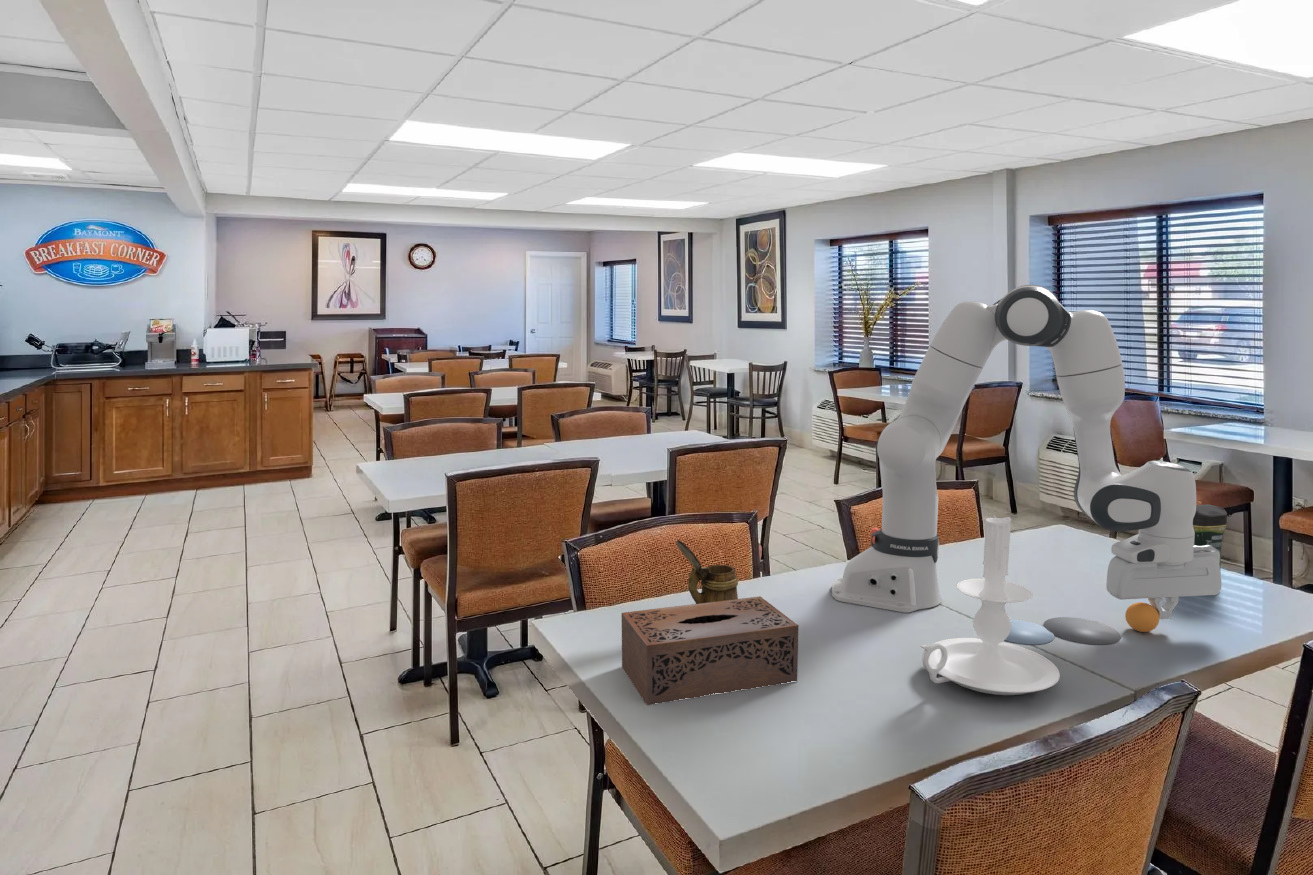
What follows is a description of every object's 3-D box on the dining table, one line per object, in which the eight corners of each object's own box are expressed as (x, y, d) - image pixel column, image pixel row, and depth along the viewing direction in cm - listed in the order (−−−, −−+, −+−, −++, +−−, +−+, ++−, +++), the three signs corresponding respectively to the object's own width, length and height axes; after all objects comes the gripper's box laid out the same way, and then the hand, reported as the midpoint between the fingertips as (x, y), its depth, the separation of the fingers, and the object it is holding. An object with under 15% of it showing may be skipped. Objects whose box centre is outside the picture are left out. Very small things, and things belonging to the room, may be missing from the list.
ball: (1141, 642, 151) (1122, 622, 150) (1134, 624, 156) (1116, 605, 155) (1169, 628, 148) (1149, 608, 148) (1161, 611, 153) (1142, 591, 152)
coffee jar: (1192, 595, 171) (1201, 510, 168) (1160, 583, 179) (1168, 502, 176) (1227, 591, 174) (1236, 507, 171) (1194, 580, 181) (1202, 499, 178)
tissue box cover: (646, 707, 124) (646, 645, 122) (622, 668, 137) (621, 612, 136) (797, 683, 131) (798, 625, 130) (759, 649, 145) (760, 596, 143)
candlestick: (876, 671, 135) (883, 509, 131) (986, 647, 145) (995, 495, 141) (969, 728, 116) (980, 541, 112) (1088, 695, 126) (1102, 522, 122)
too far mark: (987, 639, 148) (987, 638, 148) (982, 616, 159) (982, 616, 159) (1059, 648, 144) (1059, 647, 144) (1049, 623, 155) (1049, 623, 155)
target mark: (1048, 639, 148) (1048, 638, 148) (1039, 615, 160) (1039, 614, 160) (1128, 648, 144) (1128, 647, 144) (1112, 622, 156) (1112, 621, 156)
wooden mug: (667, 623, 157) (667, 533, 154) (729, 613, 162) (730, 526, 159) (686, 639, 148) (686, 545, 146) (750, 629, 153) (751, 537, 151)
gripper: (1207, 540, 153) (1203, 609, 155) (1102, 545, 153) (1100, 615, 155) (1232, 549, 147) (1228, 621, 149) (1123, 554, 147) (1120, 627, 148)
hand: (1162, 618), depth 152 cm, fingers closed
